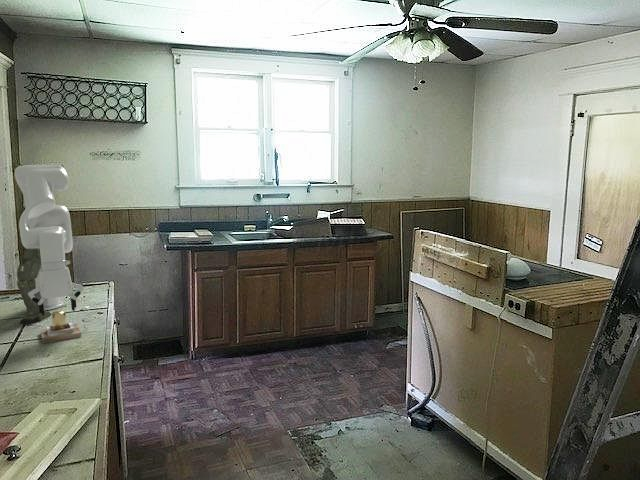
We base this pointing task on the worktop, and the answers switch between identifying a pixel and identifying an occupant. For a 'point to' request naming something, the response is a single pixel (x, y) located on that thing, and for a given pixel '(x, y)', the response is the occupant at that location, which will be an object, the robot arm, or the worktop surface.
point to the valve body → (59, 320)
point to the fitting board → (60, 333)
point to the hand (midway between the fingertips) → (58, 312)
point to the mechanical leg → (30, 285)
